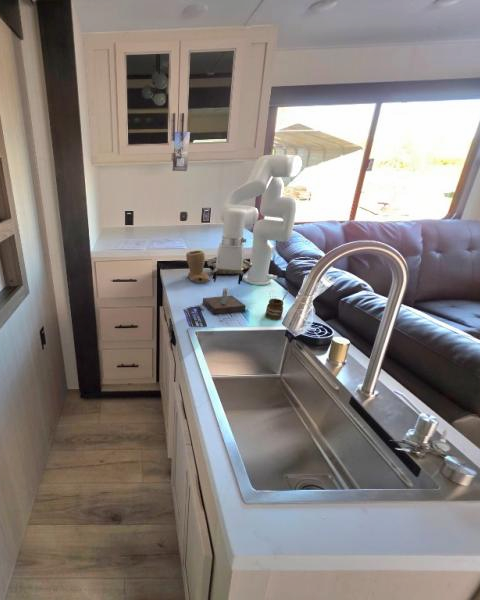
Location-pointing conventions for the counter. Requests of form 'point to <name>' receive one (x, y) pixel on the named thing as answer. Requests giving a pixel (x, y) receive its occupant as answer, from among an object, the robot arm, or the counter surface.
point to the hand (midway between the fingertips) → (226, 281)
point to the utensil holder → (275, 308)
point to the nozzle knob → (224, 296)
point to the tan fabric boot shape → (197, 266)
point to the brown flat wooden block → (223, 305)
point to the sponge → (225, 271)
